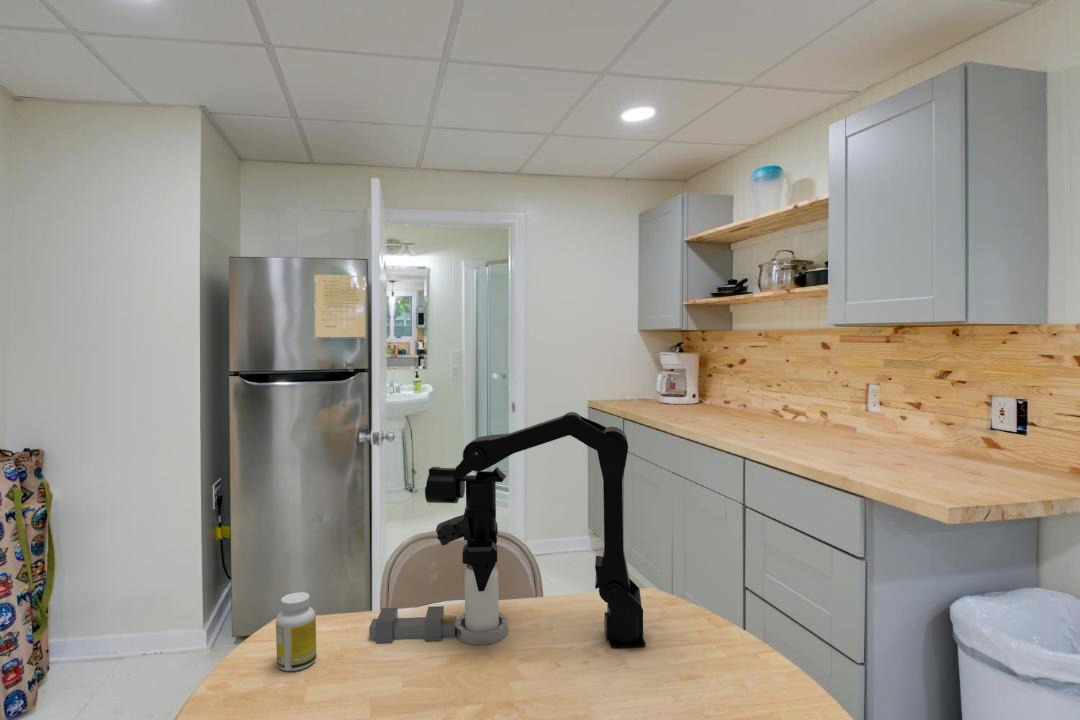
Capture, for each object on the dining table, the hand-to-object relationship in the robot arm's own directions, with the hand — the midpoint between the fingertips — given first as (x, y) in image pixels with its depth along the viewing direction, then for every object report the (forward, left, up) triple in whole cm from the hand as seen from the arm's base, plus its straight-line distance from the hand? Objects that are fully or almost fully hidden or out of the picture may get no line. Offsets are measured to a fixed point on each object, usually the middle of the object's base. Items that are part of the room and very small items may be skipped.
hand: (481, 583), depth 118 cm
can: (0, 0, -9) cm, 9 cm away
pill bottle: (+32, +9, -10) cm, 35 cm away
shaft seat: (+8, 0, -9) cm, 12 cm away
